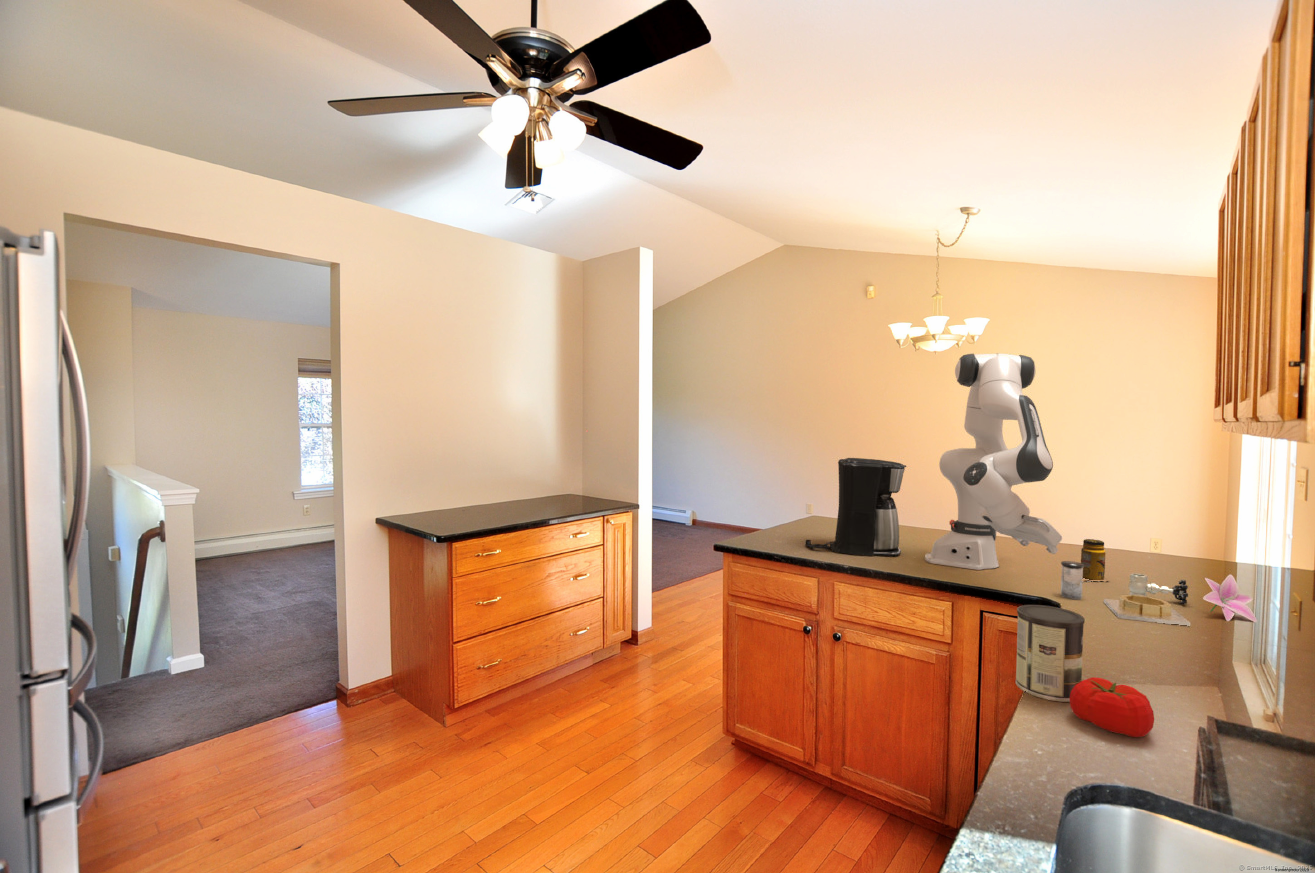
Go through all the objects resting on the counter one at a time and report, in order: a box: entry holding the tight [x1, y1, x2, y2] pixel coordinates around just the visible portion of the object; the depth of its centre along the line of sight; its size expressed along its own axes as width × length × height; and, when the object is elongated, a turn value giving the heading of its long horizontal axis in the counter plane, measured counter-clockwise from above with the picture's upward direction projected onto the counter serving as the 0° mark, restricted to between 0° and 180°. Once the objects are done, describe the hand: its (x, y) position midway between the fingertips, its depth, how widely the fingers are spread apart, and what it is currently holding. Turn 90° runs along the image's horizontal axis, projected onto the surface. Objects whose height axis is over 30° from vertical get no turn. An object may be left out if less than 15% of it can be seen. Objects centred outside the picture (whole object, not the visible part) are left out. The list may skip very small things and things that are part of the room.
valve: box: [1128, 572, 1189, 605], centre depth 165 cm, size 7×7×12 cm
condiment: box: [1080, 538, 1106, 580], centre depth 186 cm, size 7×8×12 cm
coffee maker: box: [804, 457, 907, 557], centre depth 221 cm, size 23×32×34 cm
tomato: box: [1069, 677, 1155, 738], centre depth 97 cm, size 10×11×6 cm
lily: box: [1202, 574, 1258, 623], centre depth 153 cm, size 12×12×10 cm
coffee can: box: [1015, 604, 1085, 703], centre depth 110 cm, size 10×10×14 cm
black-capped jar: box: [1060, 560, 1084, 600], centre depth 167 cm, size 5×5×9 cm
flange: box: [1103, 594, 1191, 627], centre depth 154 cm, size 14×14×3 cm
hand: (1040, 547), depth 165 cm, fingers open, 8 cm apart
